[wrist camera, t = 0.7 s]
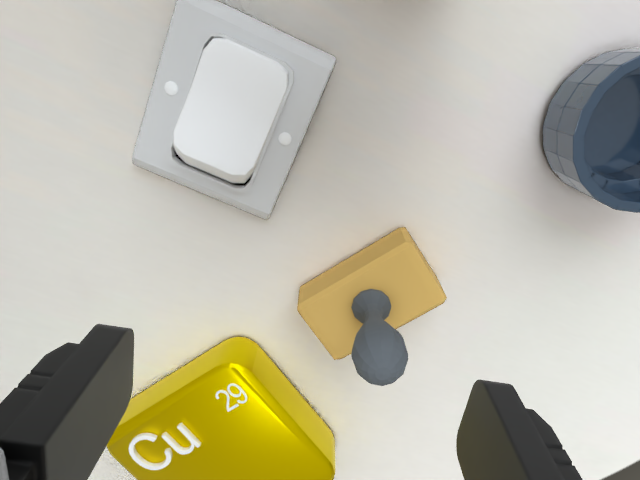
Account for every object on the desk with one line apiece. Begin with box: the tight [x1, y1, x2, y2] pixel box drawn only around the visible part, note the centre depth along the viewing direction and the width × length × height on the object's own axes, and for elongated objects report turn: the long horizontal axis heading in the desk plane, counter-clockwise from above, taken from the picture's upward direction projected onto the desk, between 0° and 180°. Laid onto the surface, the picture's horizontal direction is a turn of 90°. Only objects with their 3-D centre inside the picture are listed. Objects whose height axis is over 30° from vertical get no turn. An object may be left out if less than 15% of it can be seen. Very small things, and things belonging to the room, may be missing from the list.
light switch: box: [132, 0, 336, 219], centre depth 33 cm, size 11×4×13 cm
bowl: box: [543, 48, 640, 213], centre depth 32 cm, size 10×10×5 cm
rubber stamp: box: [297, 227, 447, 386], centre depth 34 cm, size 10×6×12 cm, turn 123°
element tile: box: [106, 337, 335, 480], centre depth 43 cm, size 15×15×5 cm
